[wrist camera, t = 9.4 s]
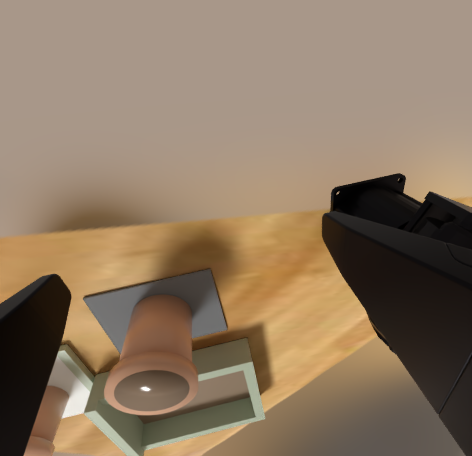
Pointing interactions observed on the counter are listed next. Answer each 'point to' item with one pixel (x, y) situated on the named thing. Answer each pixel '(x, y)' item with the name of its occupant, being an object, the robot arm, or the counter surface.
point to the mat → (184, 286)
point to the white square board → (72, 380)
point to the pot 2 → (155, 359)
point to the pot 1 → (47, 422)
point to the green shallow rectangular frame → (196, 411)
